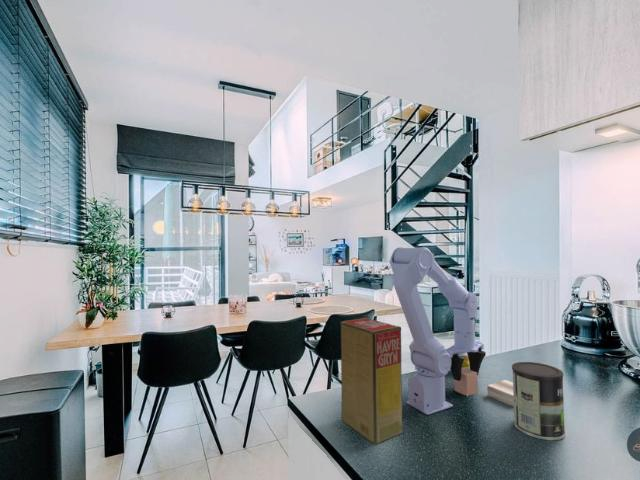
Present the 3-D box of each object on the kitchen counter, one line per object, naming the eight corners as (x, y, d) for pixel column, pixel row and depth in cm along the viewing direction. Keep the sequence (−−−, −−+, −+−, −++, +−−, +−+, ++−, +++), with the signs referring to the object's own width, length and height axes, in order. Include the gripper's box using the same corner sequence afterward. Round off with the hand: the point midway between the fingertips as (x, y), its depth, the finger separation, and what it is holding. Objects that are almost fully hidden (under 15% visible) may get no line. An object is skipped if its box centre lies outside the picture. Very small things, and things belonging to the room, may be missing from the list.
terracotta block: (467, 396, 98) (466, 375, 98) (454, 390, 102) (454, 370, 102) (477, 393, 100) (477, 372, 100) (464, 387, 104) (464, 367, 104)
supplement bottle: (464, 369, 119) (463, 341, 119) (472, 375, 113) (472, 346, 114) (449, 370, 118) (448, 342, 118) (457, 376, 113) (457, 347, 113)
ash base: (514, 407, 91) (514, 395, 91) (487, 395, 98) (487, 385, 98) (532, 400, 94) (532, 389, 94) (505, 389, 102) (504, 379, 102)
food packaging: (405, 432, 79) (402, 326, 80) (374, 446, 74) (372, 332, 75) (368, 410, 91) (366, 316, 91) (339, 420, 86) (337, 321, 86)
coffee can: (563, 424, 82) (561, 365, 82) (567, 446, 73) (565, 380, 73) (514, 413, 87) (512, 358, 88) (512, 432, 79) (510, 371, 79)
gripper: (458, 338, 94) (459, 387, 94) (492, 330, 101) (493, 376, 101) (438, 332, 101) (440, 378, 100) (472, 326, 107) (473, 369, 107)
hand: (465, 377), depth 101 cm, fingers open, 7 cm apart
